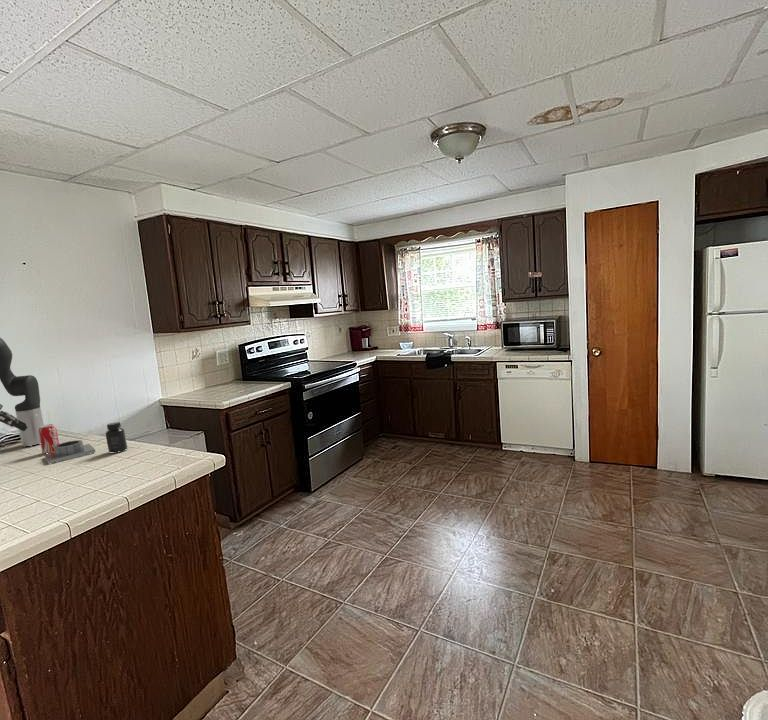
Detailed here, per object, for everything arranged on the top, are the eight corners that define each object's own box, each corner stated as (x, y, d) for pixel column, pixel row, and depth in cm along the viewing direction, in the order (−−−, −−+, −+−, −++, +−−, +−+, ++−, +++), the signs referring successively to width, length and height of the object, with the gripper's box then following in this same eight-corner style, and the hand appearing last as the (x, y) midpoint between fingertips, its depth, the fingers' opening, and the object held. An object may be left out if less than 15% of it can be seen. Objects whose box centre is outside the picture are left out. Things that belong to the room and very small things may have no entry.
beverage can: (50, 454, 187) (45, 427, 185) (38, 454, 188) (33, 428, 187) (63, 449, 193) (59, 423, 191) (52, 450, 194) (47, 424, 193)
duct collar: (44, 457, 182) (42, 446, 182) (89, 447, 193) (87, 436, 193) (48, 464, 172) (46, 452, 172) (95, 452, 183) (93, 441, 182)
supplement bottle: (131, 448, 185) (126, 420, 184) (120, 453, 179) (115, 425, 177) (116, 448, 186) (111, 421, 185) (104, 454, 179) (100, 426, 178)
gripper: (-9, 401, 171) (33, 422, 180) (-9, 398, 182) (31, 418, 191) (-25, 417, 168) (19, 438, 177) (-24, 413, 179) (17, 432, 188)
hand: (25, 427), depth 184 cm, fingers open, 8 cm apart
